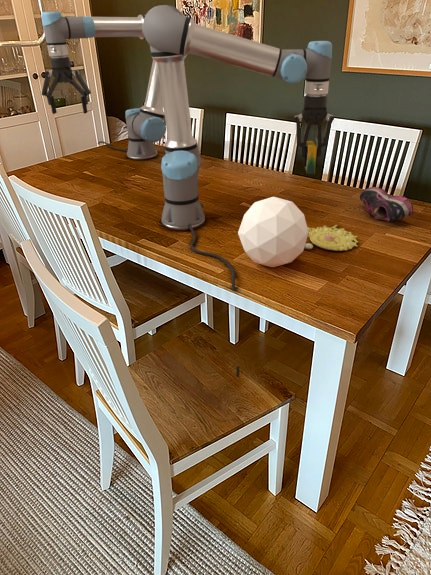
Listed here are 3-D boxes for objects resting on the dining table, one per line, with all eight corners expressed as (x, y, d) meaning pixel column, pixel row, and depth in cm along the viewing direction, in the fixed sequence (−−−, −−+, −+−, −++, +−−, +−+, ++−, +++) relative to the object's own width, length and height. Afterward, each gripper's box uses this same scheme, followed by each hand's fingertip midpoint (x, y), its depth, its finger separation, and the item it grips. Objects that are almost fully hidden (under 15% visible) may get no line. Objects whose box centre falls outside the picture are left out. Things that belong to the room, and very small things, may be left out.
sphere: (280, 289, 130) (288, 262, 111) (225, 253, 134) (224, 221, 116) (315, 241, 135) (328, 208, 116) (260, 208, 139) (265, 171, 121)
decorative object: (343, 255, 128) (285, 234, 139) (342, 262, 130) (284, 241, 140) (372, 230, 142) (317, 213, 152) (371, 237, 143) (316, 219, 153)
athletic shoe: (369, 185, 163) (343, 194, 159) (416, 181, 144) (388, 190, 140) (374, 215, 166) (349, 224, 162) (420, 215, 146) (393, 225, 143)
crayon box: (304, 167, 162) (307, 135, 156) (312, 167, 162) (315, 135, 156) (306, 174, 156) (309, 140, 150) (314, 174, 156) (318, 140, 149)
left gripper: (25, 58, 174) (38, 115, 186) (86, 57, 172) (96, 114, 184) (33, 56, 180) (45, 111, 192) (92, 55, 178) (101, 110, 190)
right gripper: (292, 97, 143) (288, 169, 155) (342, 96, 141) (334, 168, 154) (290, 93, 149) (286, 162, 162) (339, 92, 148) (331, 162, 160)
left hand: (70, 113), depth 188 cm, fingers open, 13 cm apart
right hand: (309, 165), depth 158 cm, fingers closed on crayon box, 3 cm apart
